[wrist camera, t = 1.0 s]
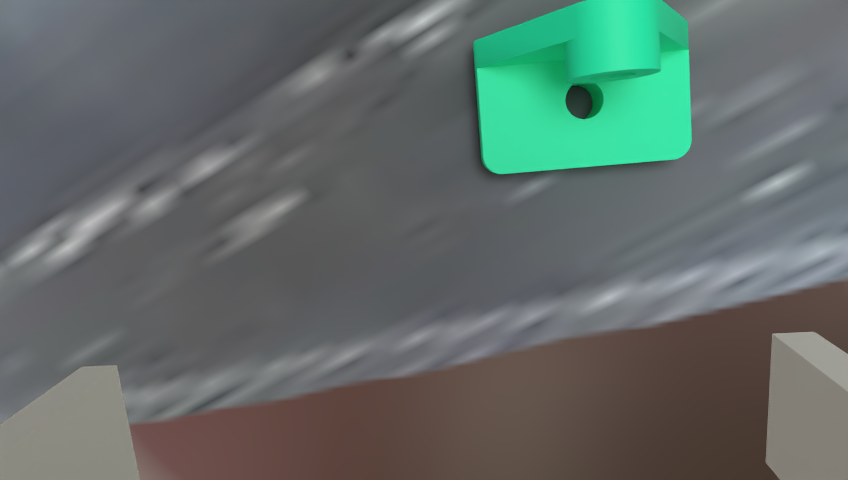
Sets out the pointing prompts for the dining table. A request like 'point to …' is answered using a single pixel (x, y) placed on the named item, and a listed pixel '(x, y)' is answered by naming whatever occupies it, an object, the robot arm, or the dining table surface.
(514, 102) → the camera mount
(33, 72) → the dining table surface
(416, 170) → the dining table surface
